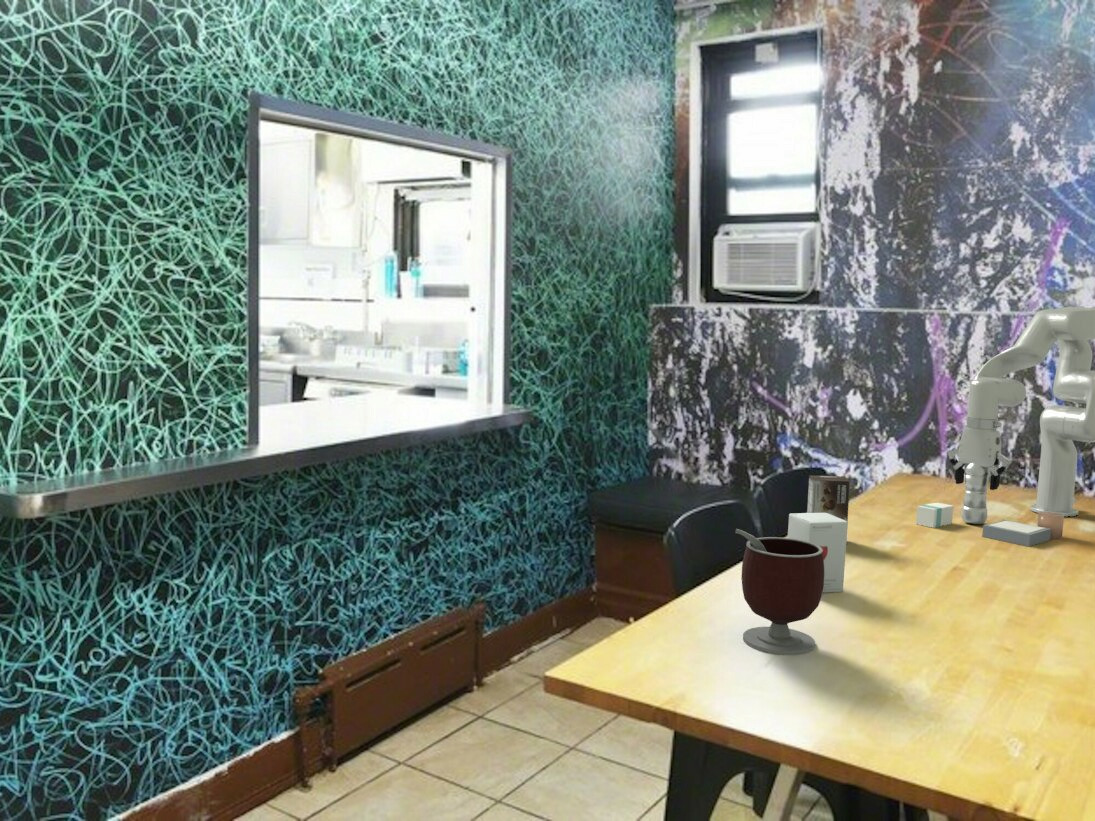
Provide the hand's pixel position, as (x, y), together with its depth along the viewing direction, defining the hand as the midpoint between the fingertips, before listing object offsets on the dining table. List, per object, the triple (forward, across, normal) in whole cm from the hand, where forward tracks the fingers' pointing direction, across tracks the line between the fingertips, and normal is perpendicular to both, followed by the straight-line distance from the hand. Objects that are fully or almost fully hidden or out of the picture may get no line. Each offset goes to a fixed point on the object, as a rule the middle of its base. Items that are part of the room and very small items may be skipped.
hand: (976, 486), depth 267 cm
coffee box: (+11, +11, +53) cm, 55 cm away
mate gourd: (+11, -27, +123) cm, 126 cm away
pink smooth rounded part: (+10, -19, -3) cm, 22 cm away
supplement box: (+11, -11, +89) cm, 90 cm away
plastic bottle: (+11, 0, 0) cm, 11 cm away
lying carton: (+10, +6, +10) cm, 16 cm away
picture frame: (+10, -15, +7) cm, 20 cm away
